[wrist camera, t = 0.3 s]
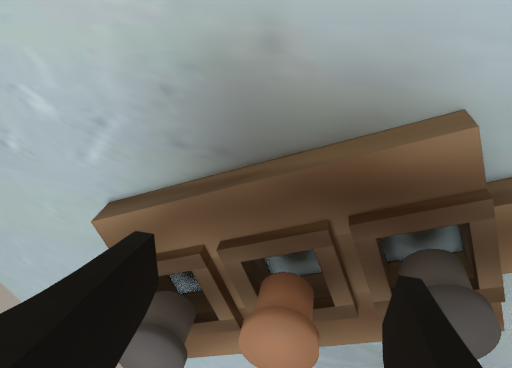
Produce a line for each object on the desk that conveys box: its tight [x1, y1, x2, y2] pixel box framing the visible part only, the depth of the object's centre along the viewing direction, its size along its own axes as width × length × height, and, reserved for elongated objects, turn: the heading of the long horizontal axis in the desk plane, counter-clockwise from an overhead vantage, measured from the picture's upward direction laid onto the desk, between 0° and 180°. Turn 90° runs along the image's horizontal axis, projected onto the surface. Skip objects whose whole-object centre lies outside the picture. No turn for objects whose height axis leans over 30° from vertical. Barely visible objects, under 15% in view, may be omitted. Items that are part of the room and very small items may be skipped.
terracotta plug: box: [238, 272, 320, 368], centre depth 19 cm, size 4×4×3 cm
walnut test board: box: [91, 110, 512, 358], centre depth 22 cm, size 12×24×3 cm, turn 111°
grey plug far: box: [119, 291, 196, 368], centre depth 21 cm, size 4×4×3 cm
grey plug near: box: [398, 249, 501, 359], centre depth 16 cm, size 4×4×3 cm
